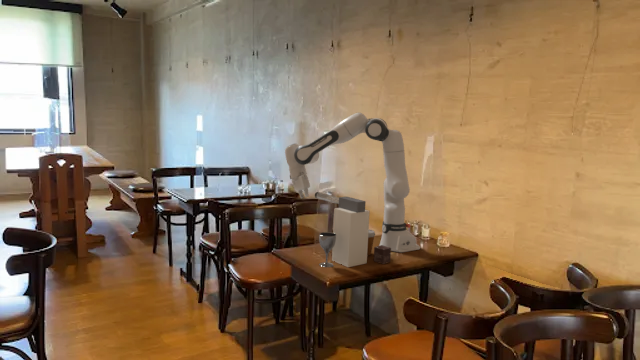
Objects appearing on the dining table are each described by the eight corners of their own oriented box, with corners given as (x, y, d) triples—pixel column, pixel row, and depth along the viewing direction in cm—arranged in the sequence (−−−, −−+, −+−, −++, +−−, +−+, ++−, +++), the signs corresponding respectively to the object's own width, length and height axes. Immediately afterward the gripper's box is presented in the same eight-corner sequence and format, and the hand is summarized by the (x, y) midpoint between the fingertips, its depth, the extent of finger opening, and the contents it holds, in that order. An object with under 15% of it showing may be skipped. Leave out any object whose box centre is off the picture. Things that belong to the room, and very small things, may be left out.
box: (390, 262, 245) (391, 247, 244) (382, 264, 241) (383, 249, 240) (380, 259, 249) (381, 244, 248) (373, 261, 245) (374, 246, 244)
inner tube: (314, 198, 259) (314, 192, 258) (319, 197, 261) (319, 191, 260) (343, 206, 241) (343, 199, 240) (348, 205, 243) (348, 199, 242)
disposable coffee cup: (377, 255, 255) (379, 232, 253) (362, 257, 250) (363, 234, 249) (367, 250, 263) (368, 228, 262) (352, 252, 259) (353, 229, 257)
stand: (330, 259, 244) (333, 197, 239) (348, 256, 251) (352, 195, 247) (348, 267, 234) (352, 202, 229) (367, 263, 241) (370, 200, 236)
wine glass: (328, 261, 242) (329, 231, 239) (338, 265, 235) (339, 235, 233) (314, 263, 237) (316, 233, 235) (324, 268, 231) (326, 237, 228)
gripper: (308, 169, 265) (315, 194, 265) (299, 174, 285) (305, 197, 284) (297, 172, 263) (304, 197, 263) (288, 176, 283) (295, 200, 282)
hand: (304, 197), depth 274 cm, fingers open, 8 cm apart
